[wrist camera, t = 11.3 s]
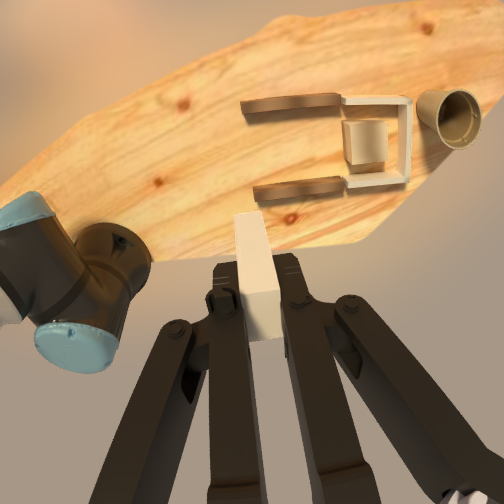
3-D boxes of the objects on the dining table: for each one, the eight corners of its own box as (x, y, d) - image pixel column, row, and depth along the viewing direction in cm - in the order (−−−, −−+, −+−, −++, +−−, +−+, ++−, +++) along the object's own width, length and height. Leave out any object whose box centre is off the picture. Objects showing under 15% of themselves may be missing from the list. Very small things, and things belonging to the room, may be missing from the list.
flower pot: (443, 140, 46) (472, 156, 39) (401, 126, 45) (429, 140, 38) (456, 92, 41) (488, 102, 34) (414, 73, 40) (445, 79, 33)
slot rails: (253, 195, 51) (254, 201, 48) (240, 101, 42) (240, 103, 40) (339, 184, 50) (344, 190, 48) (335, 92, 42) (341, 94, 40)
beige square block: (343, 156, 48) (352, 165, 45) (340, 120, 45) (349, 125, 41) (377, 153, 48) (388, 160, 44) (376, 117, 44) (387, 122, 41)
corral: (342, 181, 50) (348, 188, 48) (339, 95, 42) (345, 98, 40) (401, 175, 50) (409, 182, 47) (403, 95, 42) (412, 98, 40)
